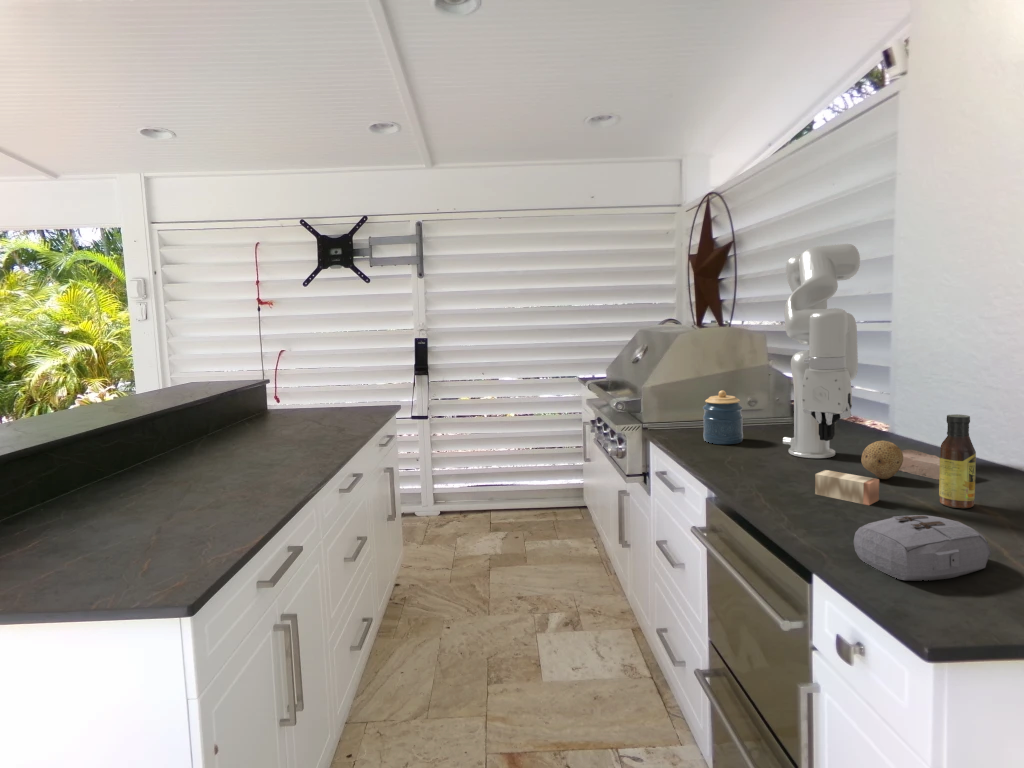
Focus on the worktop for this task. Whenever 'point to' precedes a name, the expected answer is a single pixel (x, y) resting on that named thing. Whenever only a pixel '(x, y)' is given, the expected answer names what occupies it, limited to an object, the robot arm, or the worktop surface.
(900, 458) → the natural sponge
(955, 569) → the soft grey pack
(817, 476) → the maple block
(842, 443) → the worktop surface
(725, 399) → the canister
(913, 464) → the brick
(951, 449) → the sauce bottle
